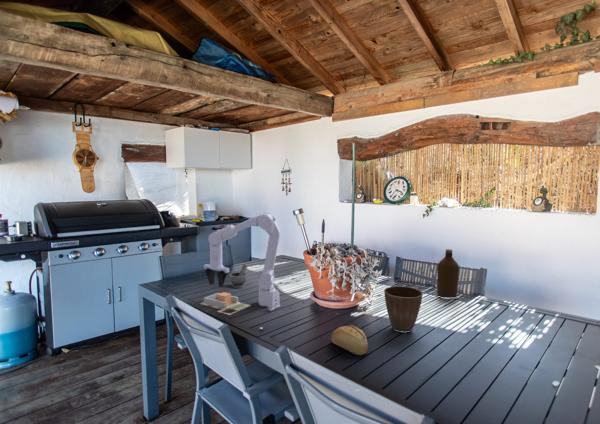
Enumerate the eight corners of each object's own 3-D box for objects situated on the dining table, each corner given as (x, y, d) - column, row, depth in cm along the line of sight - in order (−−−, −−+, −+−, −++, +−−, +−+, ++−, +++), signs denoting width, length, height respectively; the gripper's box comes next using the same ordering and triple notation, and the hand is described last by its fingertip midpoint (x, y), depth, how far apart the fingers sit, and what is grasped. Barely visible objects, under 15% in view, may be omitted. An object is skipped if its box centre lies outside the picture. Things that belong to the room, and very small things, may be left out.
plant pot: (394, 339, 142) (396, 298, 140) (376, 324, 156) (377, 287, 155) (428, 335, 146) (430, 296, 144) (407, 321, 160) (409, 285, 159)
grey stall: (238, 302, 177) (238, 297, 177) (224, 308, 169) (224, 302, 168) (218, 297, 183) (217, 292, 183) (203, 303, 175) (203, 297, 175)
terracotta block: (231, 303, 176) (231, 293, 175) (224, 305, 172) (224, 296, 172) (224, 301, 178) (223, 292, 178) (217, 303, 174) (217, 294, 174)
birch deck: (251, 308, 173) (251, 305, 173) (229, 318, 161) (229, 314, 161) (216, 300, 184) (216, 297, 184) (194, 308, 172) (194, 305, 172)
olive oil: (451, 301, 186) (453, 252, 184) (431, 296, 195) (434, 249, 192) (461, 297, 193) (464, 250, 191) (442, 292, 201) (444, 247, 199)
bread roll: (340, 338, 143) (341, 318, 142) (374, 351, 133) (375, 329, 132) (324, 346, 136) (325, 325, 135) (359, 360, 126) (359, 337, 125)
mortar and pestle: (236, 290, 201) (236, 268, 200) (226, 286, 207) (225, 265, 206) (252, 285, 209) (252, 264, 208) (242, 282, 215) (242, 262, 214)
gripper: (233, 257, 175) (233, 285, 177) (211, 254, 183) (211, 281, 184) (223, 260, 169) (223, 289, 171) (200, 256, 177) (200, 284, 178)
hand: (216, 285), depth 177 cm, fingers open, 5 cm apart
